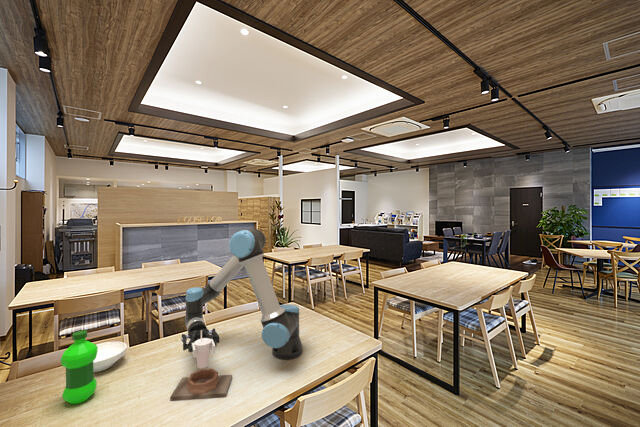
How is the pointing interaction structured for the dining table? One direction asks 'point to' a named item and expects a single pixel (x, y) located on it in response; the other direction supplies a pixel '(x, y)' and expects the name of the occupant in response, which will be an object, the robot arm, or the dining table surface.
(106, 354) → the bowl
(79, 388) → the plastic bottle
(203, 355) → the smoothie
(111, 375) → the dining table surface
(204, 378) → the brown cup holder
